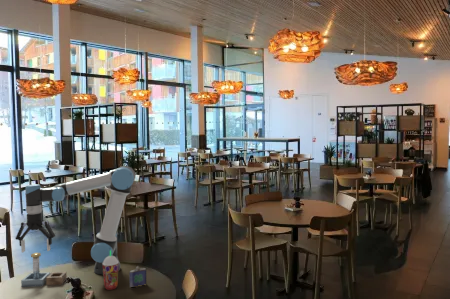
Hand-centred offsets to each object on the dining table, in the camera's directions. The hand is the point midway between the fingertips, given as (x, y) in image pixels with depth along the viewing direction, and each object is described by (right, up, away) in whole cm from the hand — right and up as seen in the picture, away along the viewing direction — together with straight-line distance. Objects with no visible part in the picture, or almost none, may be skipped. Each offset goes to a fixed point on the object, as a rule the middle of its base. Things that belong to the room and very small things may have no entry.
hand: (36, 251), depth 212 cm
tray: (0, -18, +1) cm, 18 cm away
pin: (0, -17, +1) cm, 17 cm away
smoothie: (+43, -18, -7) cm, 47 cm away
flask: (+57, -18, -5) cm, 60 cm away
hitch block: (+11, -17, +2) cm, 21 cm away
